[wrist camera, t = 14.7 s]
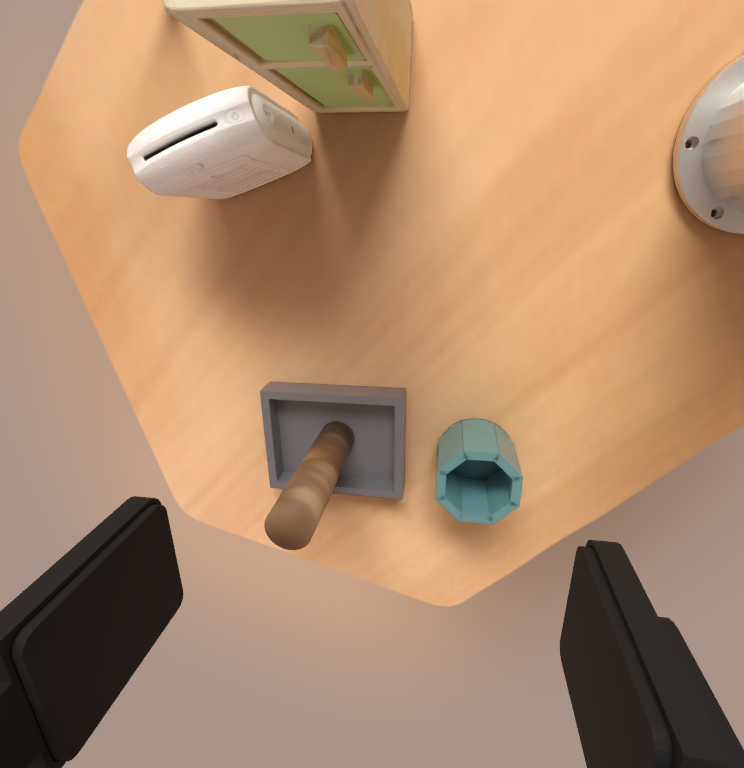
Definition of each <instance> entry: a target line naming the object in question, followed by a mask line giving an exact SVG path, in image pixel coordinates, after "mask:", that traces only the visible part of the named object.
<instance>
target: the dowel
mask: <svg viewBox="0 0 744 768" xmlns="http://www.w3.org/2000/svg"><path fill="white" fill-rule="evenodd" d="M354 441H355V436H354V433H353V431H352V429H351V428H350V427H349V426H348V425H346V424H345V423H342V422H339V421H333V422H329V423H327V424H326V425H325V426H324V427H323V428H322V430H321V432H320V433H319V435H318V436H317V438H316V440H315V441H314V443H313V444H312V446H311V447H310V449H309V451H308V452H307V454H306V455H305V457H304V459H303V460H302V462H301V463H300V465H299V467H298V468H297V470H296V471H295V473H294V474H293V476H292V478H291V479H290V481H289V482H288V484H287V486H286V487H285V489H284V490H283V492H282V493H281V495H280V497H279V498H278V500H277V501H276V503H275V505H274V506H273V508H272V509H271V511H270V513H269V514H268V516H267V517H266V519H265V531H266V533H267V535H268V537H269V538H270V540H271V541H272V542H273V543H275V544H276V545H278V546H279V547H282V548H284V549H288V550H297V549H301V548H303V547H305V546H306V545H307V544H308V543H309V542H310V540H311V538H312V536H313V534H314V531H315V529H316V527H317V525H318V522H319V520H320V518H321V516H322V514H323V511H324V509H325V507H326V505H327V502H328V500H329V498H330V496H331V493H332V491H333V489H334V487H335V485H336V482H337V480H338V478H339V476H340V473H341V471H342V469H343V467H344V464H345V462H346V460H347V458H348V456H349V453H350V451H351V449H352V447H353V444H354Z"/></svg>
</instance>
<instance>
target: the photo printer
mask: <svg viewBox="0 0 744 768" xmlns="http://www.w3.org/2000/svg"><path fill="white" fill-rule="evenodd" d="M311 154H312V139H311V136H310V134H309V132H308V130H307V129H306V127H305V126H304V125H302V124H301V123H300V122H299V121H298V118H297V117H296V116H295V115H294V114H293V113H292V112H290V111H289V110H287V109H286V108H284V107H283V106H281V105H280V104H278V103H277V102H275V101H274V100H272V99H271V98H269V97H268V96H266V95H265V94H263V93H261V92H260V91H258V90H257V89H255V88H254V87H252V86H242V87H235V88H231V89H227V90H224V91H220V92H217V93H215V94H212V95H209V96H207V97H204V98H202V99H199V100H197V101H195V102H193V103H190V104H188V105H186V106H184V107H182V108H180V109H178V110H176V111H174V112H172V113H170V114H168V115H166V116H164V117H163V118H161V119H159V120H158V121H156V122H154V123H153V124H151V125H150V126H148V127H147V128H145V129H144V130H143V131H141V132H140V133H139V134H138V135H137V136H136V137H135V138H134V139H133V140H132V142H131V143H130V144H129V146H128V148H127V158H128V160H129V161H130V163H131V165H132V167H133V169H134V173H135V176H136V177H137V179H138V180H139V181H140V182H141V183H142V184H143V185H144V186H145V187H146V188H147V189H148V190H150V191H151V192H153V193H155V194H157V195H163V196H178V197H192V198H205V199H225V198H230V197H233V196H236V195H239V194H241V193H244V192H247V191H249V190H252V189H254V188H257V187H259V186H262V185H264V184H267V183H269V182H271V181H274V180H276V179H279V178H281V177H283V176H285V175H288V174H290V173H292V172H294V171H296V170H298V169H300V168H302V167H304V166H305V165H307V164H308V163H309V162H311V161H312V160H311V157H310V156H311Z"/></svg>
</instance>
